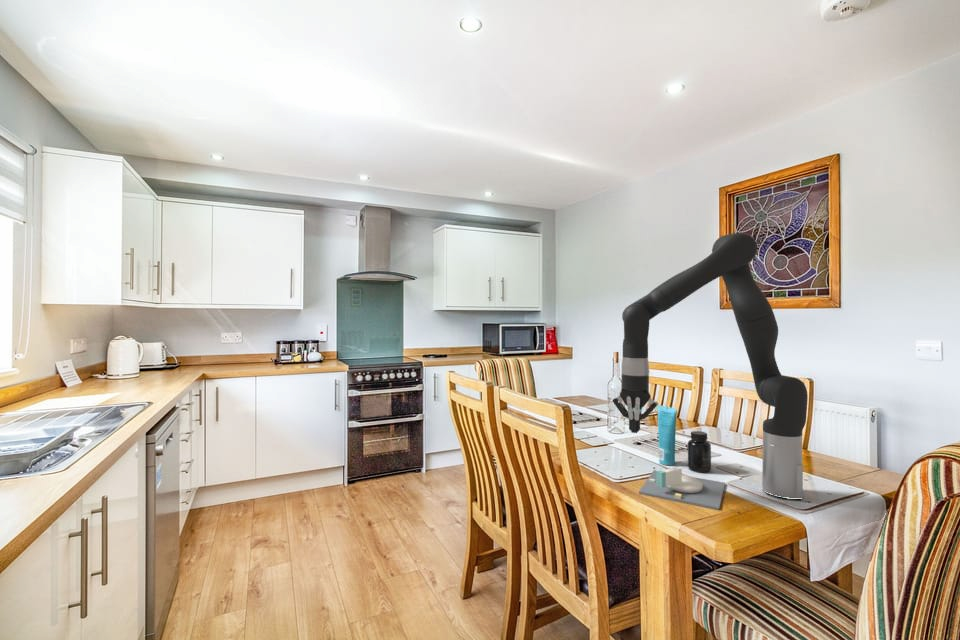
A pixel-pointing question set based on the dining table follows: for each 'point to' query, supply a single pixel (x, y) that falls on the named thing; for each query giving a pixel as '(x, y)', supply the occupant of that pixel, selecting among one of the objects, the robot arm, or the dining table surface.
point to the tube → (666, 434)
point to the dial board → (704, 498)
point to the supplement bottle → (699, 452)
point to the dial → (678, 481)
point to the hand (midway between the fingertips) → (634, 432)
